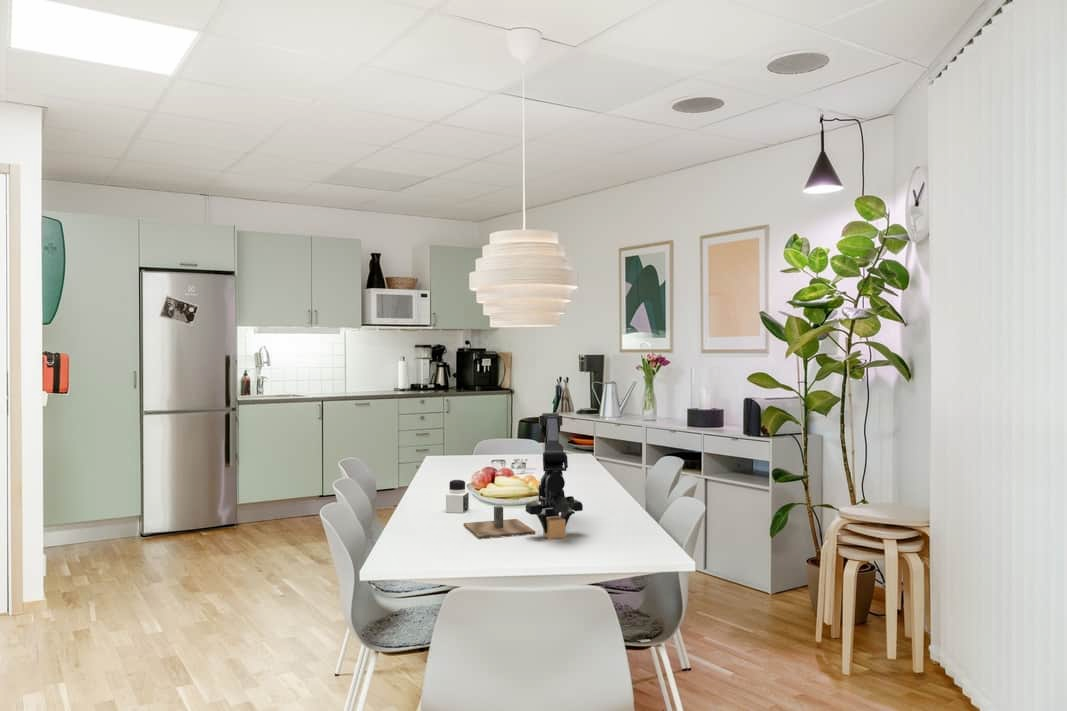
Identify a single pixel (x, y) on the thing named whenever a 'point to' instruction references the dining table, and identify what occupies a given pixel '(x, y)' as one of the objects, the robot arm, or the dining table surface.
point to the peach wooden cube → (555, 527)
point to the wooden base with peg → (498, 526)
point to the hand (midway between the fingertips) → (554, 532)
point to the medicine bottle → (457, 497)
